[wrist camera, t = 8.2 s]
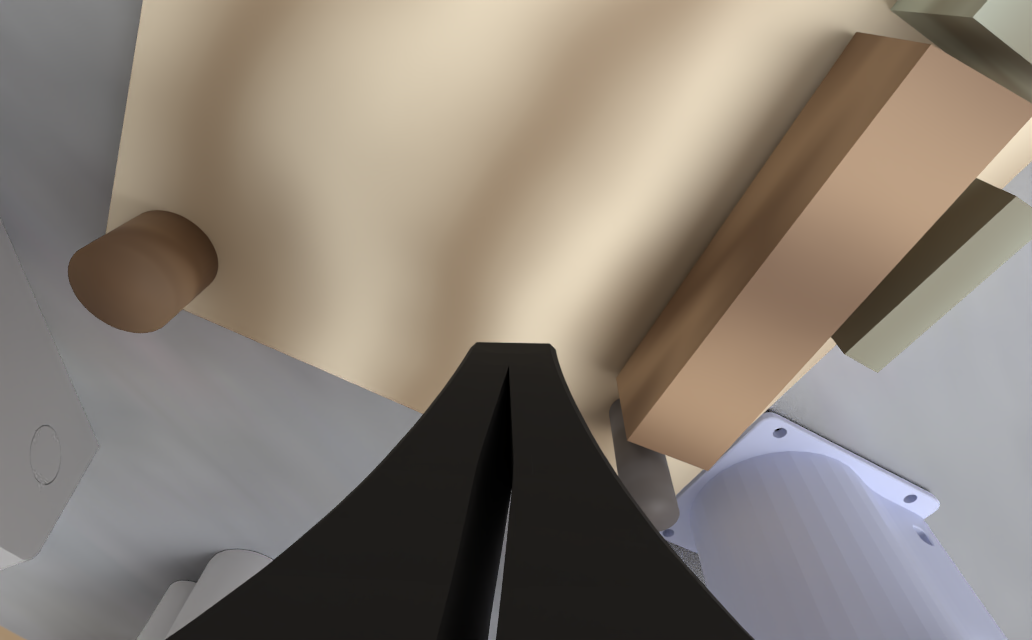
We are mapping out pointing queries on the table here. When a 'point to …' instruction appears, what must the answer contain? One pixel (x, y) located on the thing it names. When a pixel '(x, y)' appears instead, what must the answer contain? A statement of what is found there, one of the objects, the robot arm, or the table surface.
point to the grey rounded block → (34, 420)
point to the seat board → (500, 180)
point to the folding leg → (813, 239)
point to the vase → (202, 592)
